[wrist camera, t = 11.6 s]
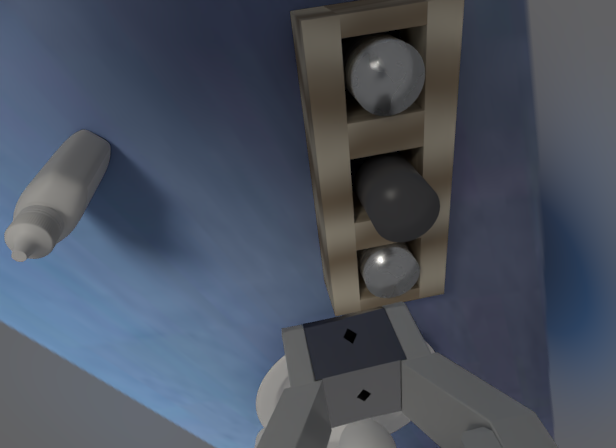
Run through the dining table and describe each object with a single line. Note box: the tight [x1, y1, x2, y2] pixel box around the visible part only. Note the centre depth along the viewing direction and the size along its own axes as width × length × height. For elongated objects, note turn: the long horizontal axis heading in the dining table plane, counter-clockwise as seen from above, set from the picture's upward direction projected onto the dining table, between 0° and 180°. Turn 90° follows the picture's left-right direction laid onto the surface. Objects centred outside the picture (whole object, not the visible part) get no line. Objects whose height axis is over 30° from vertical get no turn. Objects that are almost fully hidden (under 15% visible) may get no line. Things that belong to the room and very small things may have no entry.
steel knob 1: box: [342, 32, 425, 116], centre depth 29 cm, size 5×5×5 cm
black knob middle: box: [354, 152, 440, 242], centre depth 31 cm, size 5×5×5 cm
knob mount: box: [290, 0, 464, 316], centre depth 34 cm, size 24×10×5 cm, turn 7°
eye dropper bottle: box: [4, 130, 111, 262], centre depth 28 cm, size 4×6×12 cm
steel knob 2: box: [356, 242, 420, 298], centre depth 38 cm, size 5×5×5 cm
